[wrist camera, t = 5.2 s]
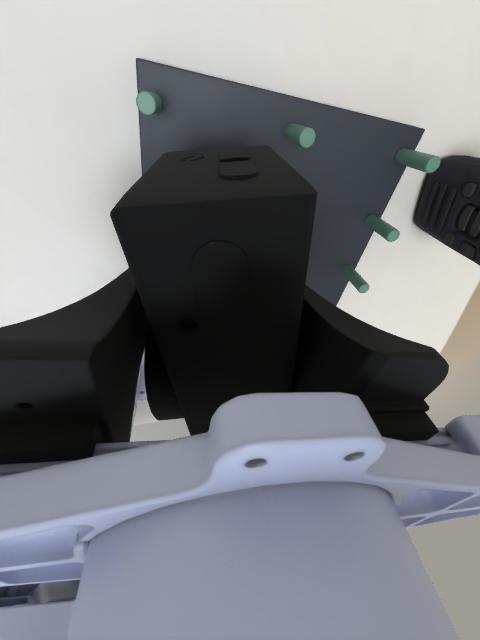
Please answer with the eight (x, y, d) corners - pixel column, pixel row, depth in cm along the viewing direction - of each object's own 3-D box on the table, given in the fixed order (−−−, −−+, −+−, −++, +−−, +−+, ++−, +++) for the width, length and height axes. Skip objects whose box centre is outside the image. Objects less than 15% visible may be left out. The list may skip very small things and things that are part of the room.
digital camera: (130, 150, 10) (38, 208, 5) (267, 141, 10) (321, 188, 5) (181, 338, 17) (166, 446, 12) (264, 331, 17) (285, 436, 12)
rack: (325, 313, 26) (342, 342, 23) (150, 303, 22) (143, 335, 19) (415, 127, 16) (464, 134, 13) (138, 59, 13) (122, 48, 10)
